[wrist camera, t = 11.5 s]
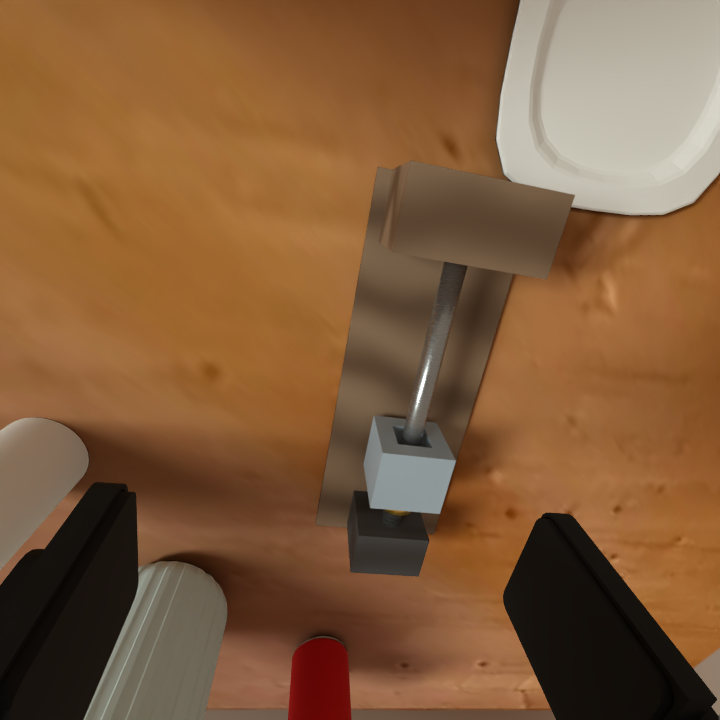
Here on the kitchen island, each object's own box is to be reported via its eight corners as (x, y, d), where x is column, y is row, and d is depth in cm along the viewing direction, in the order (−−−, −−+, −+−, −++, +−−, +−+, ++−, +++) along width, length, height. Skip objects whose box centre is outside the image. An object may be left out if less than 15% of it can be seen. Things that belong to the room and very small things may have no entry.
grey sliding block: (373, 415, 35) (382, 452, 29) (436, 422, 35) (456, 460, 30) (363, 464, 36) (370, 508, 31) (423, 470, 37) (439, 514, 32)
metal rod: (430, 246, 29) (442, 251, 26) (473, 253, 29) (489, 259, 26) (364, 532, 38) (368, 560, 35) (398, 534, 38) (404, 562, 35)
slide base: (377, 167, 29) (393, 156, 22) (533, 199, 30) (590, 198, 24) (315, 522, 40) (314, 584, 33) (432, 531, 41) (453, 592, 35)
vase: (174, 526, 38) (2, 902, 18) (256, 592, 42) (192, 963, 22) (89, 586, 40) (-159, 991, 20) (175, 644, 44) (44, 1032, 23)
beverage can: (355, 654, 47) (365, 794, 36) (307, 672, 48) (302, 816, 36) (333, 622, 45) (337, 760, 34) (283, 641, 45) (270, 784, 34)
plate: (687, 225, 33) (705, 226, 31) (472, 194, 30) (480, 194, 29) (800, -68, 26) (831, -85, 25) (539, -133, 24) (554, -156, 22)
